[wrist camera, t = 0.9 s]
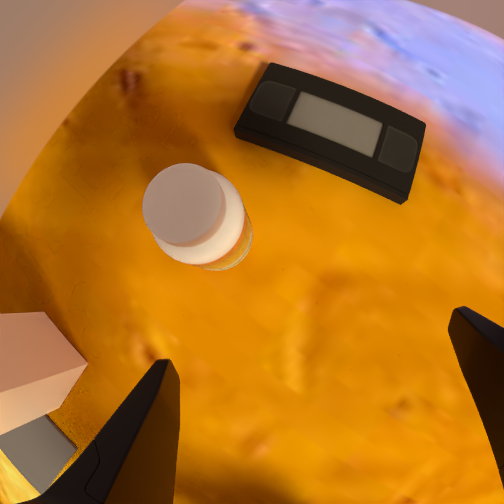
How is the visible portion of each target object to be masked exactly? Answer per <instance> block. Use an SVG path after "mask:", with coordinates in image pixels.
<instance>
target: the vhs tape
mask: <svg viewBox="0 0 504 504" xmlns="http://www.w3.org/2000/svg"><path fill="white" fill-rule="evenodd" d="M425 128H426V124H425V123H424V122H422V121H420V120H418V119H416V118H414V117H412V116H410V115H408V114H406V113H404V112H402V111H400V110H398V109H396V108H394V107H392V106H389V105H387V104H385V103H383V102H381V101H378V100H376V99H374V98H371V97H369V96H367V95H364V94H362V93H359V92H357V91H355V90H352V89H349V88H347V87H344V86H342V85H339V84H336V83H334V82H331V81H328V80H325V79H323V78H320V77H317V76H314V75H311V74H308V73H305V72H302V71H299V70H296V69H292V68H289V67H286V66H282V65H279V64H276V63H270V64H269V65H268V67H267V69H266V71H265V72H264V74H263V76H262V78H261V80H260V81H259V83H258V85H257V87H256V88H255V90H254V92H253V94H252V96H251V98H250V99H249V101H248V103H247V105H246V107H245V109H244V111H243V112H242V114H241V116H240V118H239V120H238V122H237V124H236V125H235V127H234V132H235V136H236V138H239V139H242V140H245V141H248V142H250V143H253V144H256V145H259V146H262V147H265V148H267V149H270V150H273V151H276V152H278V153H281V154H284V155H286V156H289V157H291V158H294V159H297V160H299V161H302V162H304V163H307V164H309V165H312V166H314V167H317V168H319V169H322V170H324V171H327V172H329V173H331V174H334V175H336V176H338V177H341V178H343V179H345V180H348V181H350V182H352V183H355V184H357V185H359V186H361V187H364V188H366V189H368V190H370V191H372V192H375V193H377V194H379V195H381V196H383V197H385V198H387V199H389V200H392V201H394V202H396V203H398V204H400V205H401V204H402V203H404V202H405V201H407V200H408V196H409V195H408V194H409V193H410V190H411V186H412V182H413V179H414V175H415V171H416V167H417V163H418V159H419V155H420V151H421V147H422V142H423V138H424V133H425Z"/></svg>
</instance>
